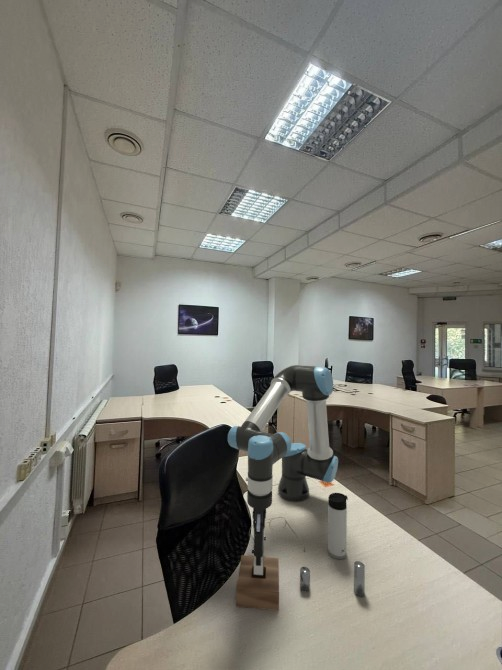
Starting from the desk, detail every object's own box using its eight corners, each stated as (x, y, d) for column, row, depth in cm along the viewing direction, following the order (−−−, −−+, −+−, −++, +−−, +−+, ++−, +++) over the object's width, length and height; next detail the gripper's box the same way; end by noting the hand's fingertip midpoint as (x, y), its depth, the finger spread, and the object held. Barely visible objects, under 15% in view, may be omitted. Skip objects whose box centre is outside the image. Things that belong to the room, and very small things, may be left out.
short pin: (299, 582, 85) (299, 566, 85) (309, 583, 85) (309, 567, 85) (300, 591, 82) (300, 574, 82) (310, 592, 82) (310, 575, 82)
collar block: (241, 570, 89) (241, 555, 89) (278, 573, 88) (278, 558, 88) (236, 606, 77) (236, 588, 77) (278, 610, 76) (279, 592, 76)
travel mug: (348, 561, 94) (348, 502, 94) (328, 557, 95) (328, 499, 95) (346, 547, 100) (346, 492, 100) (327, 544, 101) (327, 489, 101)
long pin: (254, 567, 84) (254, 524, 85) (263, 568, 84) (264, 525, 84) (253, 575, 81) (253, 531, 82) (263, 576, 81) (264, 531, 81)
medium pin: (352, 587, 84) (352, 560, 84) (362, 588, 84) (362, 561, 84) (355, 596, 81) (355, 568, 81) (366, 597, 81) (366, 569, 81)
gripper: (249, 476, 92) (248, 547, 91) (244, 504, 76) (243, 591, 75) (272, 477, 91) (271, 549, 90) (271, 506, 75) (270, 594, 74)
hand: (258, 568), depth 83 cm, fingers closed on long pin, 3 cm apart
